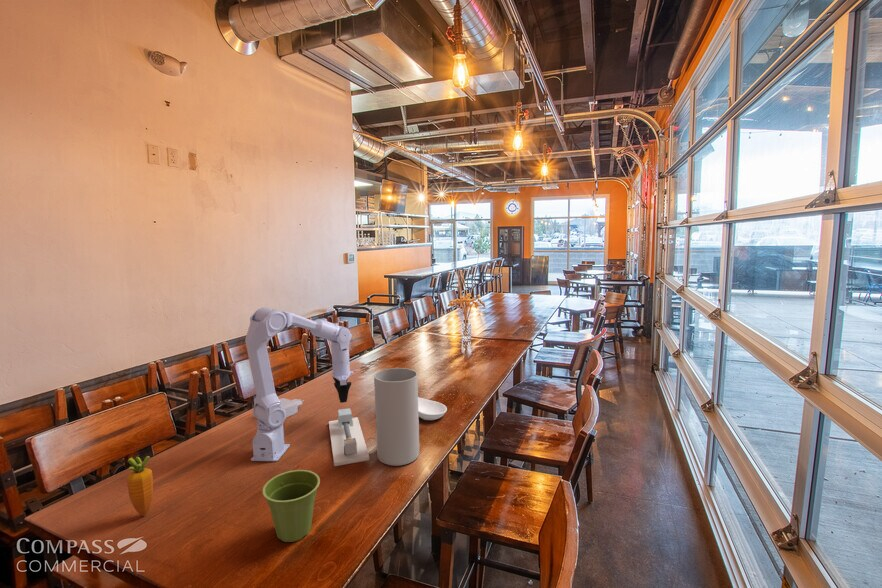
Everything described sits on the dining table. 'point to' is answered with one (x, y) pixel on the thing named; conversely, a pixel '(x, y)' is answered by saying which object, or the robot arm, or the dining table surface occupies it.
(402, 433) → the cylinder vase
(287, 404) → the charger
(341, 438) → the white slide rail base
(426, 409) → the spoon rest
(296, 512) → the plant pot
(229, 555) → the dining table surface
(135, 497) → the carrot
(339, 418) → the light grey sliding block
